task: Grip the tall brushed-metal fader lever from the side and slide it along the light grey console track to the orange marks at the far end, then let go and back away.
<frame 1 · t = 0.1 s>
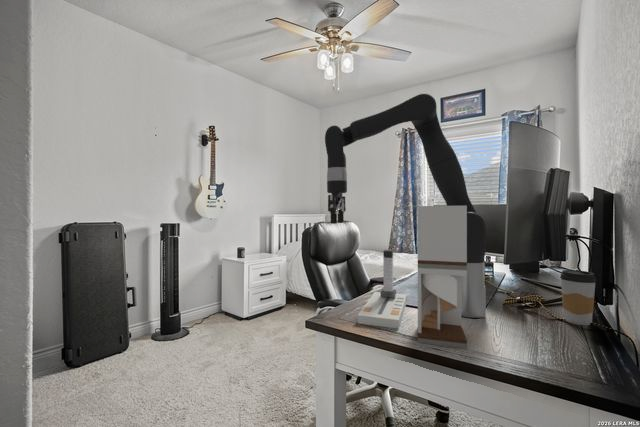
hand: (337, 223, 115), 29 cm above the table, tool pointing down, fingers open, 8 cm apart
display case: (440, 337, 81), on the table
fader: (388, 273, 109), point 11 cm above the table, slide at 0.0 cm
coffee cup: (577, 322, 91), on the table
console: (385, 311, 102), on the table
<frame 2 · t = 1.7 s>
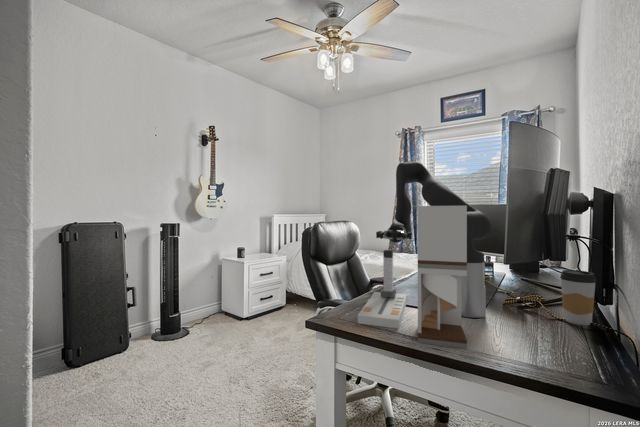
hand: (392, 236, 119), 24 cm above the table, tool horizontal, fingers open, 8 cm apart
nothing on the table moved.
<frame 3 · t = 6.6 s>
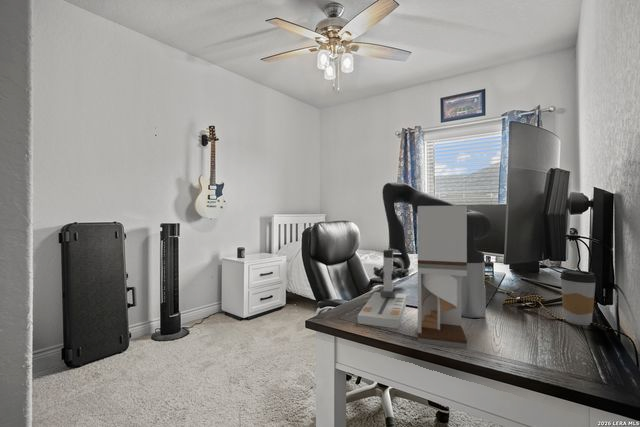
hand: (387, 276, 106), 10 cm above the table, tool horizontal, fingers closed on fader, 3 cm apart
fader: (388, 273, 109), point 11 cm above the table, slide at 0.0 cm, touching gripper
everything else where it was.
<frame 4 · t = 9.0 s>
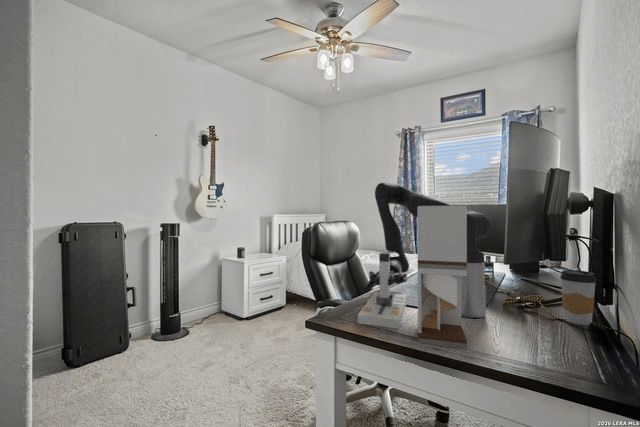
hand: (383, 282, 98), 11 cm above the table, tool horizontal, fingers closed on fader, 3 cm apart
fader: (384, 278, 101), point 11 cm above the table, slide at 8.5 cm, touching gripper
everything else where it was.
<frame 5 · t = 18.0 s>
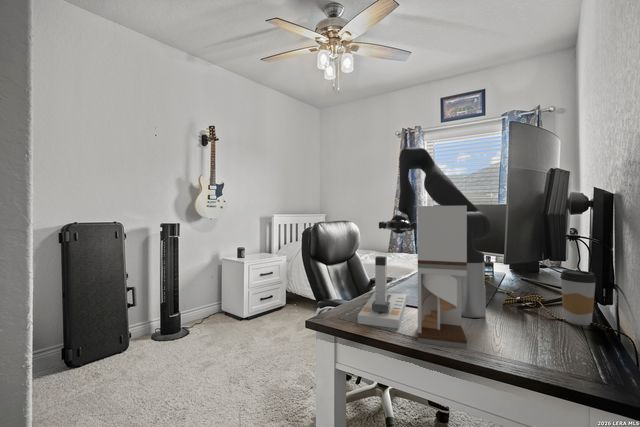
hand: (395, 226, 113), 28 cm above the table, tool horizontal, fingers open, 8 cm apart
fader: (381, 283, 94), point 11 cm above the table, slide at 16.0 cm
everything else where it was.
at the end: fader slide at 16.0 cm; the gripper is holding nothing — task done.
